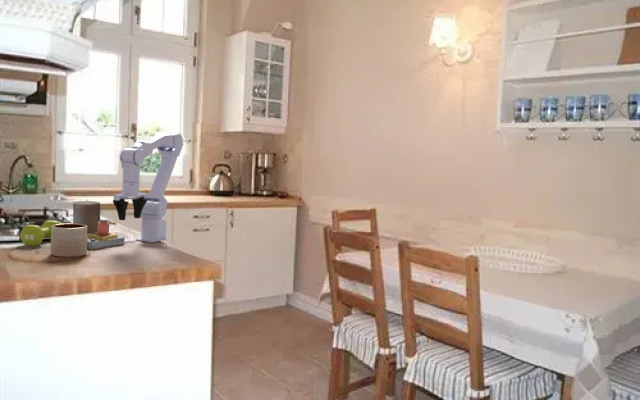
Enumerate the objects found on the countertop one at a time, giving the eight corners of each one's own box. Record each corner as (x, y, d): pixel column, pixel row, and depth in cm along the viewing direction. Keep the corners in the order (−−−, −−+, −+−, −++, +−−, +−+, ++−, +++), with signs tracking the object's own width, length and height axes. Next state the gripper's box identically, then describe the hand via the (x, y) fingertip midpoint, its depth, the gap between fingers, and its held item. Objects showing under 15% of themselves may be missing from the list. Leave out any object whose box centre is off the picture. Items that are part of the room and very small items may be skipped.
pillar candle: (103, 236, 215) (104, 198, 214) (94, 240, 206) (95, 200, 204) (78, 235, 215) (78, 197, 213) (68, 239, 205) (68, 199, 204)
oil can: (101, 236, 203) (103, 219, 202) (111, 237, 201) (112, 220, 201) (94, 237, 199) (95, 219, 198) (103, 238, 198) (104, 221, 197)
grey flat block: (101, 240, 208) (102, 230, 207) (124, 244, 203) (124, 234, 203) (62, 246, 191) (62, 236, 191) (85, 250, 187) (86, 240, 187)
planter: (93, 253, 185) (93, 224, 184) (75, 259, 174) (76, 229, 173) (62, 250, 186) (63, 222, 185) (43, 256, 175) (43, 226, 174)
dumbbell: (44, 238, 205) (44, 219, 204) (64, 240, 204) (65, 220, 203) (17, 245, 188) (17, 225, 188) (39, 247, 188) (40, 226, 187)
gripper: (136, 180, 207) (135, 216, 208) (107, 181, 193) (106, 219, 195) (151, 182, 204) (149, 218, 205) (122, 183, 191) (121, 221, 192)
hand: (129, 219), depth 200 cm, fingers open, 7 cm apart
